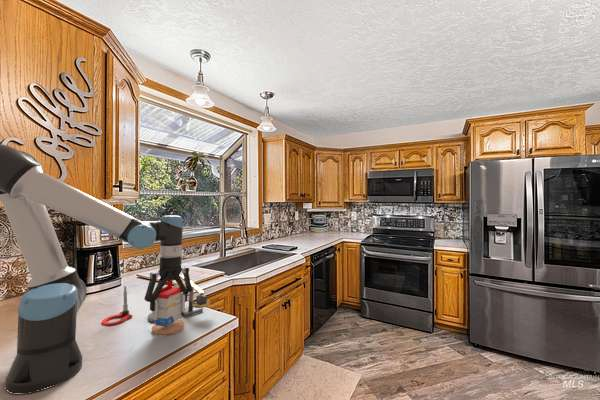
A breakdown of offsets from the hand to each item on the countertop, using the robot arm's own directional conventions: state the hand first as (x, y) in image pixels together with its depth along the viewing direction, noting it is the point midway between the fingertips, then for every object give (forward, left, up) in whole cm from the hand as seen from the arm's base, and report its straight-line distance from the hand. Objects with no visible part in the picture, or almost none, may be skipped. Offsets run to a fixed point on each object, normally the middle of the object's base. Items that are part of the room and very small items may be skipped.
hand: (168, 314), depth 100 cm
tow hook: (-11, +22, -6) cm, 25 cm away
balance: (+13, +8, -5) cm, 16 cm away
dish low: (0, 0, -5) cm, 5 cm away
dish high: (+3, +12, -5) cm, 13 cm away
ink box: (0, 0, -3) cm, 3 cm away
